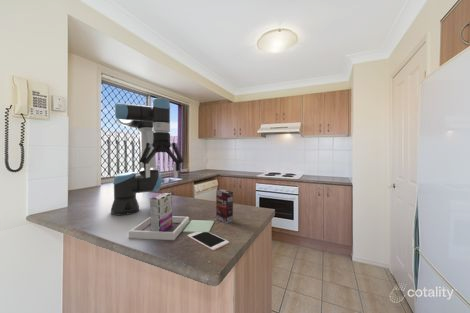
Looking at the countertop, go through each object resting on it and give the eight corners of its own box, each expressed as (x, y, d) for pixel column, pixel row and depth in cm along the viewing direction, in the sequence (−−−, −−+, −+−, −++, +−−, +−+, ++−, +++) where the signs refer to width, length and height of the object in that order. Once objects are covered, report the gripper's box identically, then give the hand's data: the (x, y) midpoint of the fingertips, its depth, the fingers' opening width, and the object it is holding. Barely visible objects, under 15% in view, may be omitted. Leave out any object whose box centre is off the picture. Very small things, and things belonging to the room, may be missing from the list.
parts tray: (128, 238, 85) (128, 231, 85) (151, 221, 105) (151, 215, 104) (174, 240, 83) (174, 233, 83) (188, 222, 103) (188, 216, 103)
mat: (182, 232, 91) (182, 230, 91) (191, 221, 105) (191, 220, 105) (208, 233, 90) (208, 232, 90) (214, 221, 104) (214, 220, 104)
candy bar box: (163, 224, 100) (163, 192, 99) (172, 225, 99) (172, 193, 98) (149, 234, 89) (149, 197, 88) (159, 235, 88) (159, 198, 87)
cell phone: (203, 231, 93) (203, 229, 93) (229, 244, 81) (229, 241, 81) (186, 237, 87) (186, 235, 87) (212, 252, 75) (212, 249, 74)
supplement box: (215, 219, 108) (215, 190, 107) (222, 217, 111) (222, 189, 111) (226, 223, 102) (227, 193, 101) (233, 221, 105) (233, 191, 105)
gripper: (131, 131, 89) (131, 178, 90) (185, 131, 88) (185, 179, 88) (140, 133, 97) (140, 176, 98) (190, 133, 95) (190, 176, 96)
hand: (161, 177), depth 93 cm, fingers open, 13 cm apart
